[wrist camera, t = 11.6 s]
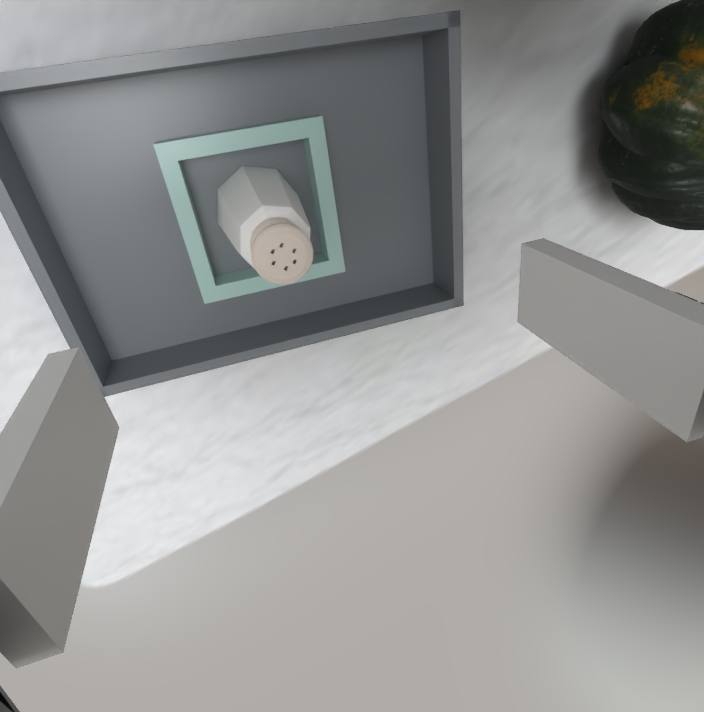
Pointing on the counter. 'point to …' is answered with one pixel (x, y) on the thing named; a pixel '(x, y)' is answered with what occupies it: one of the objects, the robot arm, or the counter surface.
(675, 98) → the squash
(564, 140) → the counter surface
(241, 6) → the counter surface
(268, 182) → the salt shaker
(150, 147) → the bin
